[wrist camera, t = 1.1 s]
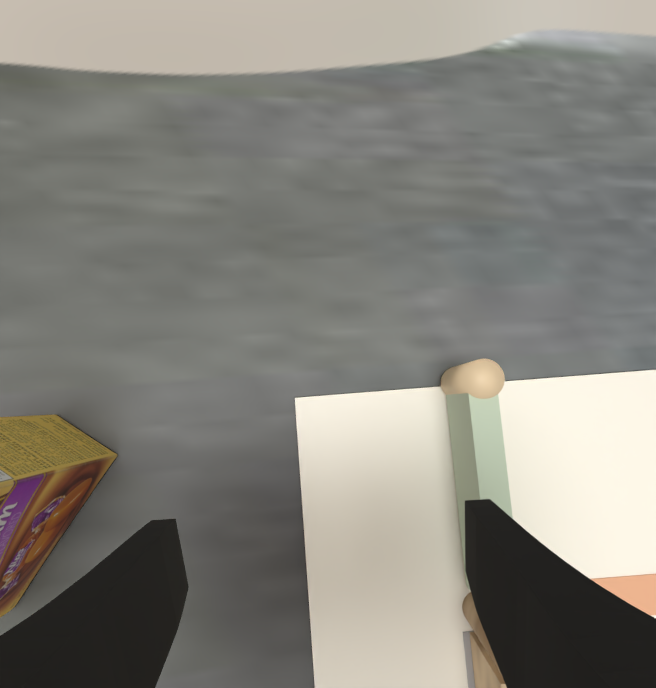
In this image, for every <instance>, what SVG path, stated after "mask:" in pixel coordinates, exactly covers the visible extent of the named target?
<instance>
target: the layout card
mask: <svg viewBox="0 0 656 688" xmlns="http://www.w3.org/2000/svg"><path fill="white" fill-rule="evenodd" d="M498 397H499V406H500V414H501V423H502V431H503V440H504V448H505V457H506V465H507V474H508V482H509V491H510V499H511V507H512V516H513V520H515V521H516V522H517V523H518V524H519V525H520V526H522V527H523V528H524V529H525V530H526V531H527V532H529V533H530V534H531V535H532V536H533V537H535V538H536V539H537V540H538V541H540V542H541V543H542V544H543V545H545V546H546V547H547V548H548V549H550V550H551V551H552V552H553V553H555V554H556V555H557V556H559V557H560V558H561V559H563V560H564V561H565V562H567V563H568V564H570V565H571V566H572V567H574V568H575V569H577V570H578V571H579V572H581V573H582V574H584V575H585V576H586V577H588V578H589V579H591V580H592V581H594V582H595V583H597V584H598V585H600V586H601V587H603V588H605V589H606V590H608V591H610V592H611V593H613V594H614V595H616V596H618V597H619V598H621V599H622V600H624V601H626V602H627V603H629V604H631V605H632V606H634V607H636V608H638V609H640V610H641V611H643V612H645V613H647V614H648V615H650V616H652V617H654V618H656V370H646V371H633V372H621V373H608V374H595V375H582V376H569V377H556V378H544V379H531V380H518V381H505V382H504V386H503V388H502V390H501V391H500V392H499V394H498ZM295 407H296V421H297V436H298V450H299V465H300V479H301V494H302V508H303V523H304V537H305V552H306V566H307V581H308V595H309V610H310V624H311V639H312V653H313V668H314V682H315V688H475V680H474V670H473V661H472V651H471V642H470V632H474V631H473V629H472V627H471V626H470V624H469V623H468V621H467V619H466V618H465V616H464V614H463V610H462V604H463V600H464V598H465V597H466V595H467V594H469V593H470V592H471V591H470V590H469V589H468V587H467V586H466V580H465V571H464V561H463V552H462V542H461V533H460V523H459V514H458V504H457V495H456V485H455V476H454V466H453V457H452V447H451V438H450V429H449V419H448V410H447V400H446V394H445V393H444V392H443V390H442V388H441V387H428V388H415V389H402V390H390V391H377V392H364V393H351V394H338V395H325V396H313V397H300V398H295Z"/></svg>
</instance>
